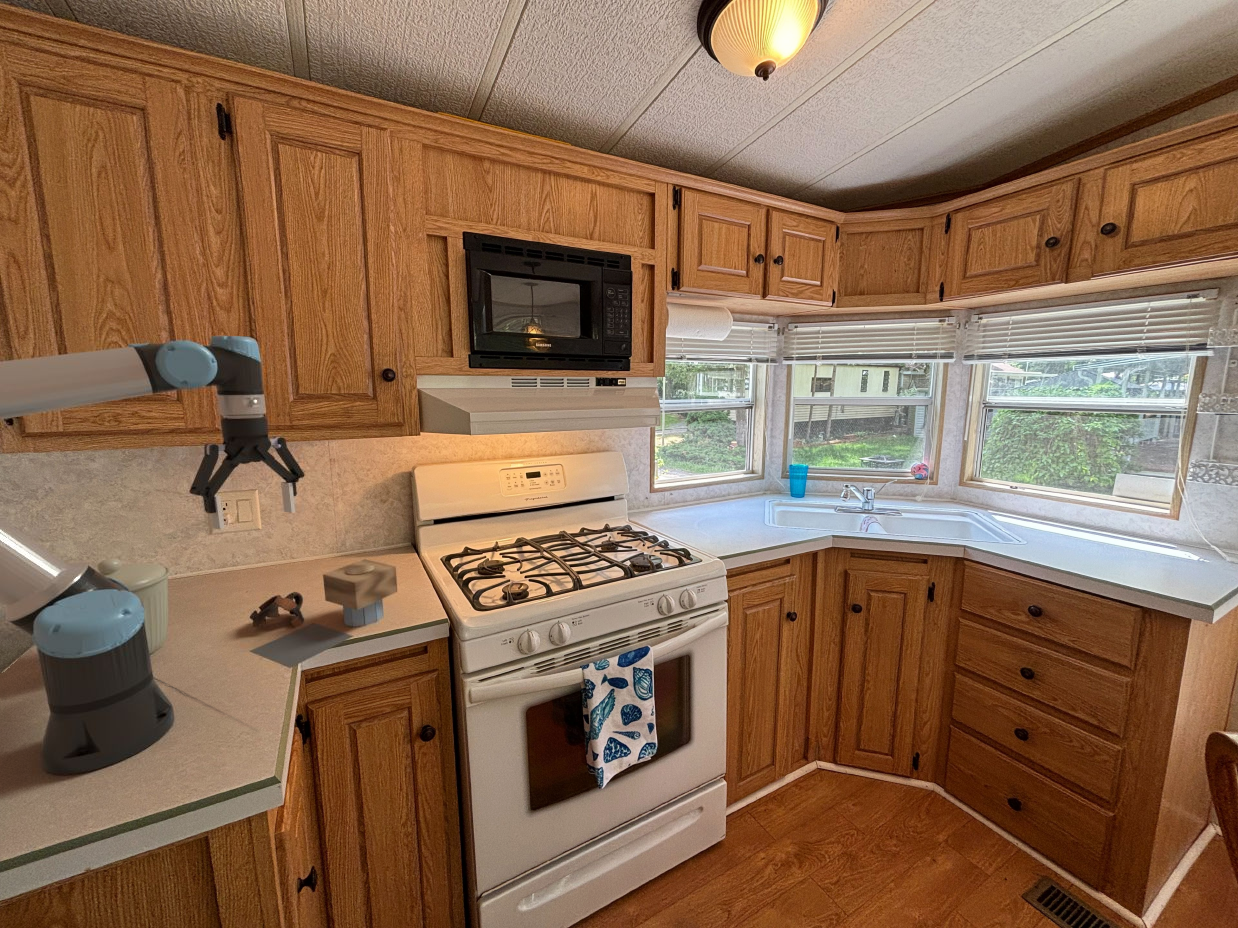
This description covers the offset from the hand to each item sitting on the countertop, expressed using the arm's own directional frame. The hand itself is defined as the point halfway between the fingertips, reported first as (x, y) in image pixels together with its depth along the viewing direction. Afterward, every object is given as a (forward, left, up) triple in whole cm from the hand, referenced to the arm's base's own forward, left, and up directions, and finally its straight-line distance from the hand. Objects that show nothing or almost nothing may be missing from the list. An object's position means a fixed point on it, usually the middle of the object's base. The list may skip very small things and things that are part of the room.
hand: (256, 519), depth 104 cm
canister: (-15, +25, -29) cm, 41 cm away
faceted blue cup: (+18, -6, -29) cm, 34 cm away
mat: (+4, -5, -29) cm, 29 cm away
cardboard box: (+18, -6, -23) cm, 30 cm away
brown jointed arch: (+8, +9, -29) cm, 31 cm away
